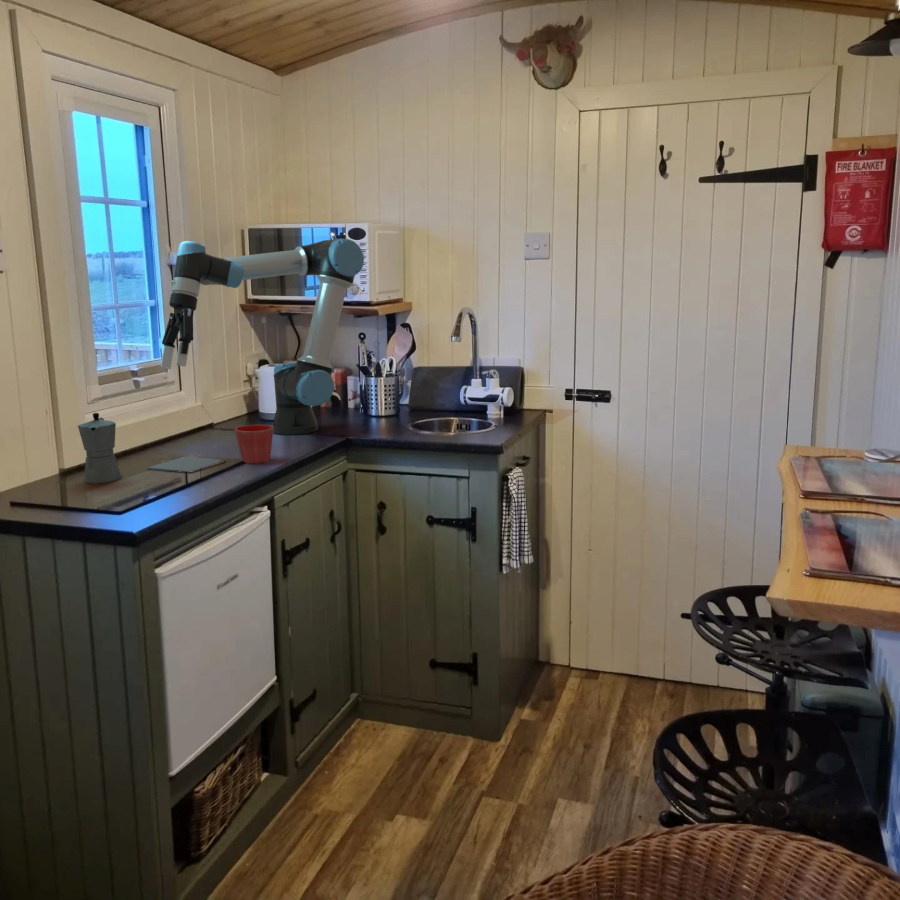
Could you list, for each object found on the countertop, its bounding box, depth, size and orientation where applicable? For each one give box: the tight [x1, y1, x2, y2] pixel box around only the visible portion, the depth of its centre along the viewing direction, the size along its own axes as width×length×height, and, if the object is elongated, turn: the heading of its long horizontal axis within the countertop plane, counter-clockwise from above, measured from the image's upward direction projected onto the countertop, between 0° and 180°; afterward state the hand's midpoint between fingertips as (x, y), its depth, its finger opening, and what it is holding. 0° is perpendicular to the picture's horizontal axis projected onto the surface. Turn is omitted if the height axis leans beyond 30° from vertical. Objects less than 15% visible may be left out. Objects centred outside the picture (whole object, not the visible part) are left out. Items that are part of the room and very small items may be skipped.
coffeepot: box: [77, 412, 122, 485], centre depth 234 cm, size 15×9×18 cm, turn 13°
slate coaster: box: [147, 456, 221, 473], centre depth 248 cm, size 15×15×1 cm
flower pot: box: [234, 424, 274, 464], centre depth 252 cm, size 11×11×10 cm
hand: (172, 367), depth 254 cm, fingers open, 13 cm apart
